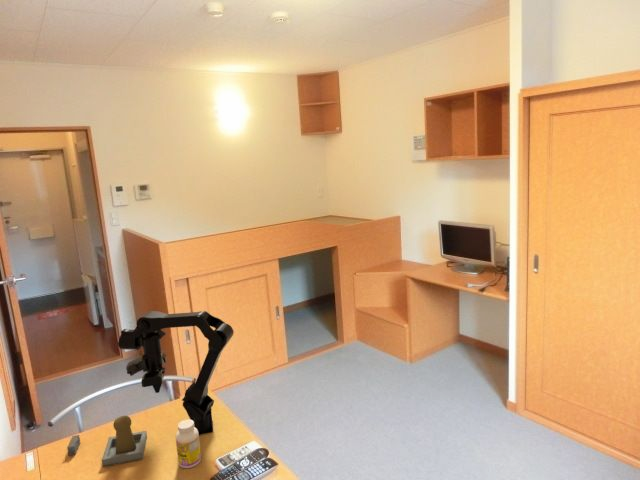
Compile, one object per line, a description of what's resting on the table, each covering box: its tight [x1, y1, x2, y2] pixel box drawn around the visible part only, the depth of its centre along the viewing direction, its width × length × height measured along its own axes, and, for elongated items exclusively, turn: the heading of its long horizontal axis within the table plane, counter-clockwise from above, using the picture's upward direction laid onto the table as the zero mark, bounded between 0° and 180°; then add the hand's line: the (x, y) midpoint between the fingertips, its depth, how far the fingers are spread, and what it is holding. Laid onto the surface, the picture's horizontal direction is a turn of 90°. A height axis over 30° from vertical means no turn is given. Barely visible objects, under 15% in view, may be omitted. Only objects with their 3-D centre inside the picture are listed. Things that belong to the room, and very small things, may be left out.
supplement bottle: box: [175, 418, 202, 469], centre depth 134 cm, size 7×7×13 cm
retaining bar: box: [66, 434, 81, 457], centre depth 143 cm, size 2×6×3 cm, turn 14°
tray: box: [101, 430, 148, 468], centre depth 141 cm, size 11×11×2 cm
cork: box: [113, 415, 136, 454], centre depth 140 cm, size 6×6×11 cm
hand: (157, 392), depth 151 cm, fingers closed
